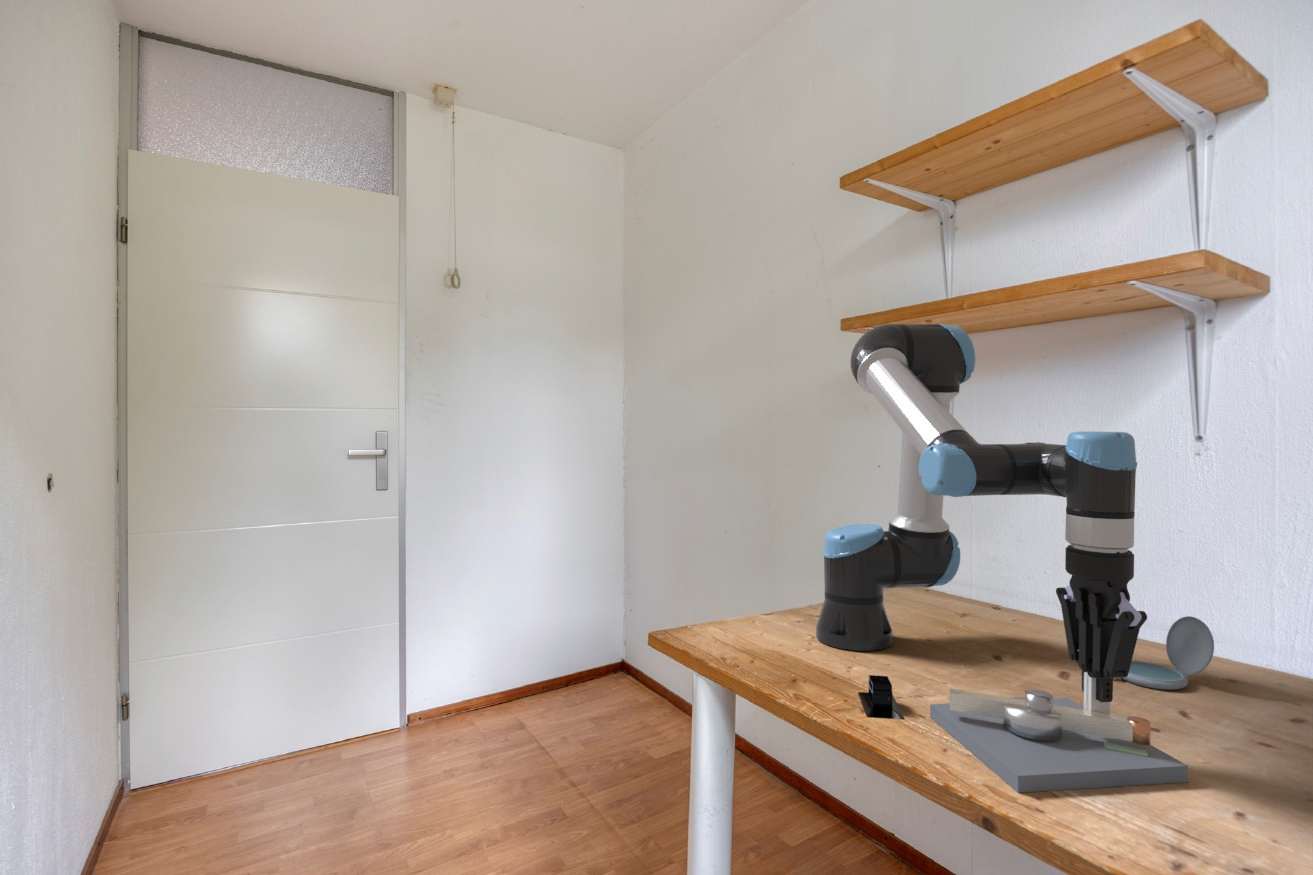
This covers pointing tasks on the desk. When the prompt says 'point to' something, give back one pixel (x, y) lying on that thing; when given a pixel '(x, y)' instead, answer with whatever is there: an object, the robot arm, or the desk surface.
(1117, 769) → the stand
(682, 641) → the desk surface
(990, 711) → the rotary pointer lever
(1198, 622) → the pocket watch
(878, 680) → the black stepped block
